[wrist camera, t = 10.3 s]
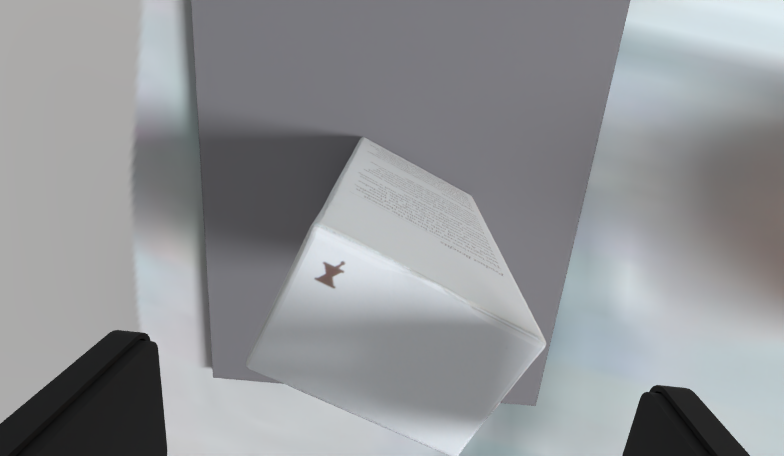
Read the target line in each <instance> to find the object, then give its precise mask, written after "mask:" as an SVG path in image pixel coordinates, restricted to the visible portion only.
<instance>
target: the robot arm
mask: <svg viewBox="0 0 784 456" xmlns="http://www.w3.org/2000/svg"><path fill="white" fill-rule="evenodd" d="M0 456H167V442H166V431H165V420H164V409H163V398H162V387H161V377H160V366H159V355H158V347H157V344H156V343H155V342H152V341H150V338H149V336H148V334H146V333H140V332H130V331H121V330H115V331H112V332H110V333H109V334H108V335H107V336H105V337H104V338H103V339H102V340H101V341H99V342H98V343H97V344H96V345H94V346H93V347H92V348H91V349H90V350H88V351H87V352H86V353H85V354H84V355H82V356H81V357H80V358H79V359H78V360H76V361H75V362H74V363H73V364H72V365H70V366H69V367H68V368H67V369H66V370H64V371H63V372H62V373H61V374H60V375H59V376H57V377H56V378H55V379H54V380H53V381H51V382H50V383H49V384H48V385H46V386H45V387H44V388H43V389H42V390H40V391H39V392H38V393H37V394H36V395H34V396H33V397H32V398H31V399H30V400H28V401H27V402H26V403H25V404H24V405H22V406H21V407H20V408H19V409H18V410H16V411H15V412H14V413H13V414H12V415H10V416H9V417H8V418H7V419H6V420H4V421H3V422H2V423H1V424H0ZM623 456H750V455H749V454H748V453H747V452H746V451H745V449H744V448H743V447H742V446H741V445H740V444H739V443H738V442H737V440H736V439H735V438H734V437H733V436H732V435H731V434H730V432H729V431H728V430H727V429H726V428H725V427H724V426H723V425H722V423H721V422H720V421H719V420H718V419H717V418H716V417H715V415H714V414H713V413H712V412H711V411H710V410H709V409H708V408H707V406H706V405H705V404H704V403H703V402H702V401H701V400H700V398H699V397H698V396H697V395H696V394H695V393H694V392H693V391H692V390H690V389H687V388H680V387H670V386H661V385H656V386H653V387H652V388H651V389H650V392H645V393H643V394H642V396H641V398H640V401H639V404H638V407H637V411H636V414H635V417H634V420H633V423H632V427H631V430H630V433H629V436H628V440H627V443H626V446H625V449H624V452H623Z"/></svg>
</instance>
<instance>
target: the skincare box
mask: <svg viewBox="0 0 784 456" xmlns="http://www.w3.org/2000/svg"><path fill="white" fill-rule="evenodd" d="M545 346H546V341H545V339H544V337H543V335H542V332H541V330H540V328H539V327H538V325H537V323H536V321H535V319H534V317H533V315H532V313H531V311H530V309H529V308H528V305H527V303H526V301H525V299H524V298H523V296H522V294H521V292H520V290H519V288H518V286H517V284H516V282H515V280H514V278H513V276H512V274H511V272H510V270H509V268H508V266H507V264H506V262H505V260H504V258H503V256H502V254H501V252H500V250H499V248H498V246H497V244H496V243H495V241H494V239H493V237H492V235H491V233H490V231H489V229H488V227H487V225H486V223H485V221H484V219H483V217H482V215H481V213H480V211H479V209H478V207H477V205H476V203H475V201H474V199H473V198H472V196H471V195H469V194H467V193H466V192H464V191H462V190H460V189H458V188H456V187H455V186H453V185H451V184H449V183H447V182H446V181H444V180H442V179H440V178H438V177H436V176H434V175H433V174H431V173H429V172H427V171H425V170H424V169H422V168H420V167H418V166H416V165H414V164H413V163H411V162H409V161H407V160H405V159H403V158H402V157H400V156H398V155H396V154H394V153H392V152H390V151H389V150H387V149H385V148H383V147H381V146H379V145H377V144H376V143H374V142H372V141H370V140H368V139H367V138H365V137H362V138H361V139H360V140H359V142H358V144H357V146H356V147H355V149H354V151H353V153H352V155H351V157H350V158H349V160H348V162H347V163H346V165H345V167H344V169H343V171H342V172H341V174H340V176H339V178H338V180H337V182H336V183H335V185H334V187H333V189H332V191H331V192H330V194H329V196H328V198H327V200H326V202H325V204H324V206H323V208H322V209H321V211H320V213H319V214H318V216H317V217H316V219H315V220H314V222H313V223H312V225H311V226H310V228H309V231H308V233H307V235H306V237H305V239H304V241H303V243H302V245H301V247H300V250H299V252H298V254H297V256H296V258H295V260H294V262H293V264H292V266H291V268H290V270H289V272H288V274H287V276H286V278H285V280H284V283H283V285H282V287H281V289H280V291H279V293H278V295H277V297H276V299H275V301H274V303H273V305H272V307H271V309H270V311H269V313H268V315H267V318H266V320H265V322H264V324H263V326H262V328H261V330H260V332H259V334H258V336H257V338H256V340H255V342H254V344H253V346H252V348H251V351H250V353H249V355H248V358H247V361H246V366H247V367H248V368H249V369H250V370H253V371H255V372H257V373H260V374H262V375H265V376H267V377H269V378H272V379H274V380H277V381H279V382H281V383H284V384H286V385H288V386H291V387H293V388H295V389H297V390H300V391H302V392H304V393H306V394H309V395H311V396H313V397H316V398H318V399H320V400H323V401H325V402H327V403H330V404H332V405H334V406H336V407H339V408H341V409H343V410H346V411H348V412H350V413H352V414H355V415H357V416H359V417H362V418H364V419H366V420H368V421H371V422H373V423H375V424H378V425H380V426H382V427H385V428H387V429H389V430H392V431H394V432H396V433H399V434H401V435H403V436H405V437H408V438H410V439H412V440H414V441H417V442H419V443H421V444H424V445H426V446H428V447H431V448H433V449H435V450H437V451H439V452H442V453H444V454H446V455H448V456H458V455H459V454H460V453H461V451H462V450H463V448H464V447H465V446H466V445H467V443H468V442H469V441H470V439H471V438H472V437H473V435H474V434H475V433H476V432H477V430H478V429H479V428H480V426H481V425H482V424H483V423H484V422H485V420H486V419H487V418H488V417H489V415H490V414H491V413H492V412H493V411H494V409H495V408H496V407H497V406H498V404H499V403H500V402H501V401H502V400H503V398H504V397H505V396H506V395H507V393H508V392H509V391H510V390H511V388H512V387H513V386H514V385H515V383H516V382H517V381H518V380H519V378H520V377H521V376H522V375H523V373H524V372H525V371H526V370H527V369H528V367H529V366H530V365H531V364H532V362H533V361H534V360H535V359H536V358H537V357H538V356H539V354H540V353H541V352H542V351H543V350H544V348H545Z"/></svg>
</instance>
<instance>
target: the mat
mask: <svg viewBox="0 0 784 456" xmlns="http://www.w3.org/2000/svg"><path fill="white" fill-rule="evenodd" d="M629 4H630V0H191V7H192V24H193V41H194V58H195V76H196V93H197V110H198V127H199V144H200V161H201V178H202V195H203V212H204V229H205V247H206V264H207V281H208V298H209V315H210V332H211V349H212V366H213V377H214V378H225V379H236V380H248V381H259V382H270V383H281V382H279V381H277V380H274V379H272V378H269V377H267V376H265V375H262V374H260V373H257V372H255V371H253V370H250V369H249V368H248V367H247V366H246V361H247V358H248V355H249V353H250V351H251V348H252V346H253V344H254V342H255V340H256V338H257V336H258V334H259V332H260V330H261V328H262V326H263V324H264V322H265V320H266V318H267V315H268V313H269V311H270V309H271V307H272V305H273V303H274V301H275V299H276V297H277V295H278V293H279V291H280V289H281V287H282V285H283V283H284V280H285V278H286V276H287V274H288V272H289V270H290V268H291V266H292V264H293V262H294V260H295V258H296V256H297V254H298V252H299V250H300V247H301V245H302V243H303V241H304V239H305V237H306V235H307V233H308V231H309V228H310V226H311V225H312V223H313V222H314V220H315V219H316V217H317V216H318V214H319V213H320V211H321V209H322V208H323V206H324V204H325V202H326V200H327V198H328V196H329V194H330V192H331V191H332V189H333V187H334V185H335V183H336V182H337V180H338V178H339V176H340V174H341V172H342V171H343V169H344V167H345V165H346V163H347V162H348V160H349V158H350V157H351V155H352V153H353V151H354V149H355V147H356V146H357V144H358V142H359V140H360V139H361V138H362V137H365V138H367V139H368V140H370V141H372V142H374V143H376V144H377V145H379V146H381V147H383V148H385V149H387V150H389V151H390V152H392V153H394V154H396V155H398V156H400V157H402V158H403V159H405V160H407V161H409V162H411V163H413V164H414V165H416V166H418V167H420V168H422V169H424V170H425V171H427V172H429V173H431V174H433V175H434V176H436V177H438V178H440V179H442V180H444V181H446V182H447V183H449V184H451V185H453V186H455V187H456V188H458V189H460V190H462V191H464V192H466V193H467V194H469V195H471V196H472V198H473V199H474V201H475V203H476V205H477V207H478V209H479V211H480V213H481V215H482V217H483V219H484V221H485V223H486V225H487V227H488V229H489V231H490V233H491V235H492V237H493V239H494V241H495V243H496V244H497V246H498V248H499V250H500V252H501V254H502V256H503V258H504V260H505V262H506V264H507V266H508V268H509V270H510V272H511V274H512V276H513V278H514V280H515V282H516V284H517V286H518V288H519V290H520V292H521V294H522V296H523V298H524V299H525V301H526V303H527V305H528V308H529V309H530V311H531V313H532V315H533V317H534V319H535V321H536V323H537V325H538V327H539V328H540V330H541V332H542V335H543V337H544V339H545V341H546V346H545V348H544V350H543V351H542V352H541V353H540V354H539V356H538V357H537V358H536V359H535V360H534V361H533V362H532V364H531V365H530V366H529V367H528V369H527V370H526V371H525V372H524V373H523V375H522V376H521V377H520V378H519V380H518V381H517V382H516V383H515V385H514V386H513V387H512V388H511V390H510V391H509V392H508V393H507V395H506V396H505V397H504V398H503V400H502V401H501V402H500V403H509V404H520V405H531V406H536V402H537V398H538V393H539V389H540V385H541V381H542V376H543V372H544V368H545V363H546V359H547V355H548V351H549V346H550V342H551V338H552V334H553V329H554V325H555V321H556V316H557V312H558V308H559V304H560V299H561V295H562V291H563V286H564V282H565V278H566V274H567V269H568V265H569V261H570V256H571V252H572V248H573V244H574V239H575V235H576V231H577V226H578V222H579V218H580V214H581V209H582V205H583V201H584V196H585V192H586V188H587V184H588V179H589V175H590V171H591V167H592V162H593V158H594V154H595V149H596V145H597V141H598V137H599V132H600V128H601V124H602V119H603V115H604V111H605V107H606V102H607V98H608V94H609V89H610V85H611V81H612V77H613V72H614V68H615V64H616V59H617V55H618V51H619V47H620V42H621V38H622V34H623V30H624V25H625V21H626V17H627V12H628V8H629ZM282 384H284V383H282Z"/></svg>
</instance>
